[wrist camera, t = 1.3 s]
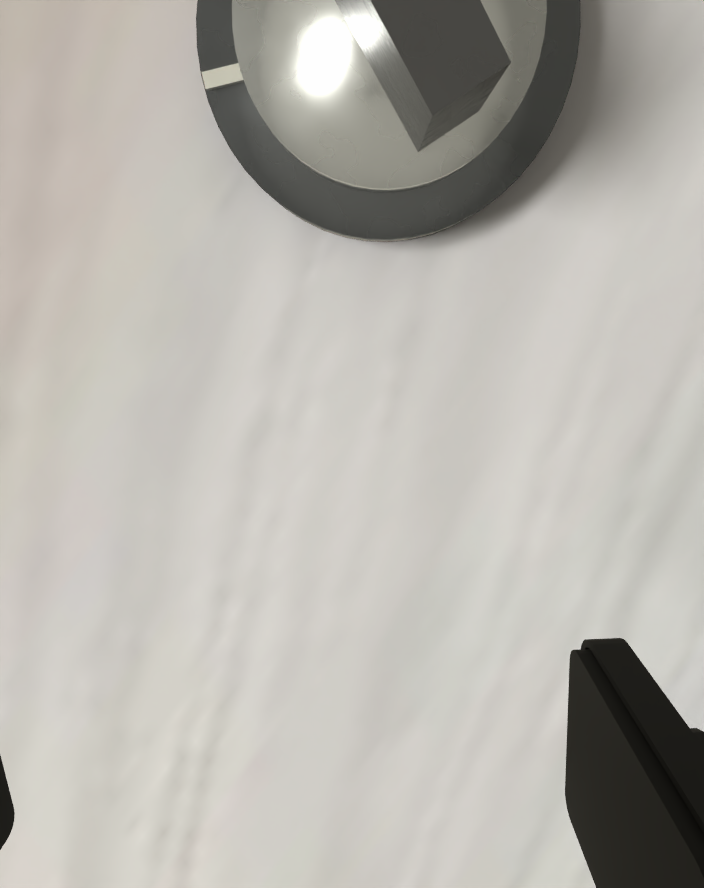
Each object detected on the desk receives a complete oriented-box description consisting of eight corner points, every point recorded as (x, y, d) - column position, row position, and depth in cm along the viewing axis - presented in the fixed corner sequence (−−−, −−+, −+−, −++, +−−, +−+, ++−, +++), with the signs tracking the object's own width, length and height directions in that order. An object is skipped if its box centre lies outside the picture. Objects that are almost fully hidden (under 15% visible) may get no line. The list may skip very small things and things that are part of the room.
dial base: (453, -259, 26) (461, -310, 24) (627, 115, 29) (648, 101, 27) (136, -10, 28) (116, -34, 26) (330, 306, 32) (327, 308, 30)
